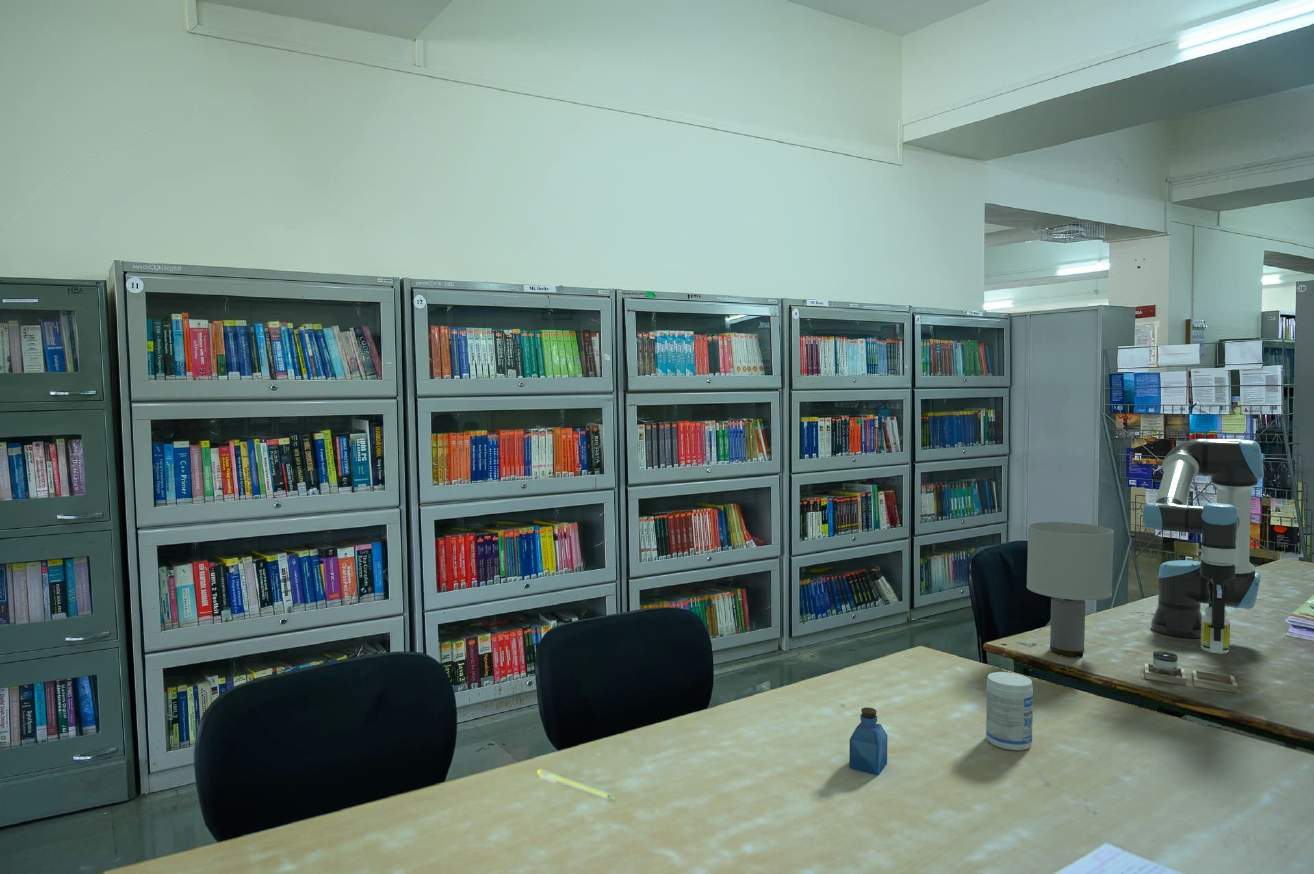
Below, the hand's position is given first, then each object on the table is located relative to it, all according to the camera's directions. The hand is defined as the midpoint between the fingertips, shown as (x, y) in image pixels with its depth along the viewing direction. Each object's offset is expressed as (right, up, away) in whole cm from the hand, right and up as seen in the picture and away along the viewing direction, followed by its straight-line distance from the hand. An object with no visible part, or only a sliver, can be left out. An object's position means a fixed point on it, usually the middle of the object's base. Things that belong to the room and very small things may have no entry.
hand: (1215, 648), depth 208 cm
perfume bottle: (-103, -14, -42) cm, 112 cm away
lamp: (-24, -9, +30) cm, 39 cm away
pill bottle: (0, -1, 0) cm, 1 cm away
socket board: (-5, -11, +3) cm, 12 cm away
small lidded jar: (-9, -9, +6) cm, 14 cm away
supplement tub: (-69, -13, -31) cm, 77 cm away
